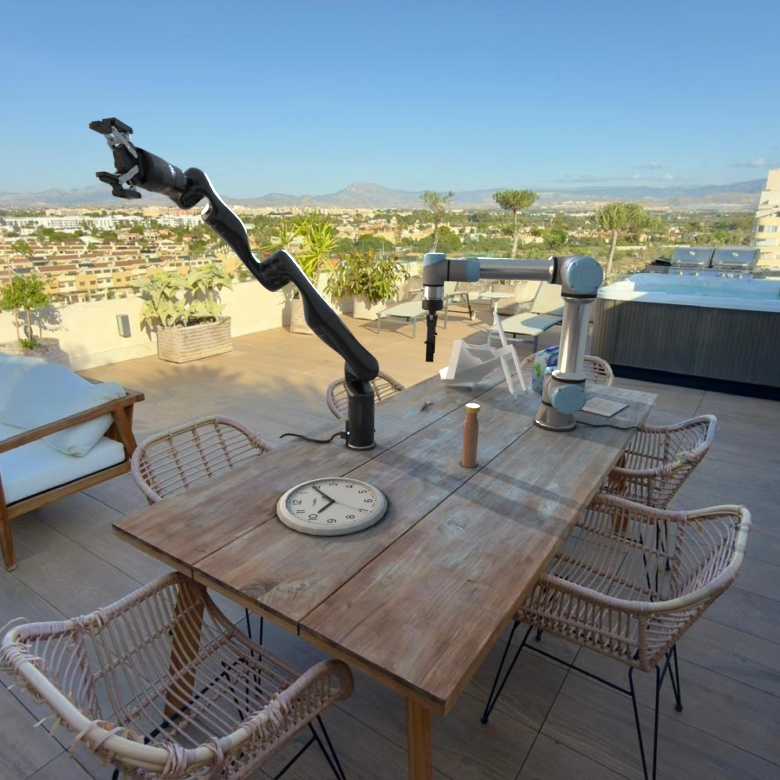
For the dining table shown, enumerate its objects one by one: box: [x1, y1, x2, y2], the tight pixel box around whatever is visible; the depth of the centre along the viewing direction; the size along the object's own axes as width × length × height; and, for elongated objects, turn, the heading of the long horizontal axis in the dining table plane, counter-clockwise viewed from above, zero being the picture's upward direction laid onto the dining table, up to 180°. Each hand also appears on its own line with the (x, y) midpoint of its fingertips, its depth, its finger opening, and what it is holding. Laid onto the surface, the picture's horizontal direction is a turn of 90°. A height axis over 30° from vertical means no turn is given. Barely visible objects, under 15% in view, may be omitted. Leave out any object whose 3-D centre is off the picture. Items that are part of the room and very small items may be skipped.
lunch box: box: [531, 344, 560, 393], centre depth 245 cm, size 26×11×21 cm, turn 134°
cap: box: [465, 402, 481, 414], centre depth 163 cm, size 4×4×2 cm
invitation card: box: [580, 396, 629, 418], centre depth 226 cm, size 21×1×15 cm
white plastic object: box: [438, 310, 531, 400], centre depth 245 cm, size 37×45×31 cm
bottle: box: [461, 412, 480, 468], centre depth 166 cm, size 5×5×20 cm
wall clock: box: [276, 476, 388, 537], centre depth 142 cm, size 30×2×30 cm
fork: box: [420, 396, 435, 411], centre depth 223 cm, size 3×16×2 cm, turn 160°
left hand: (96, 149), depth 96 cm, fingers open, 8 cm apart
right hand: (430, 357), depth 190 cm, fingers open, 13 cm apart
